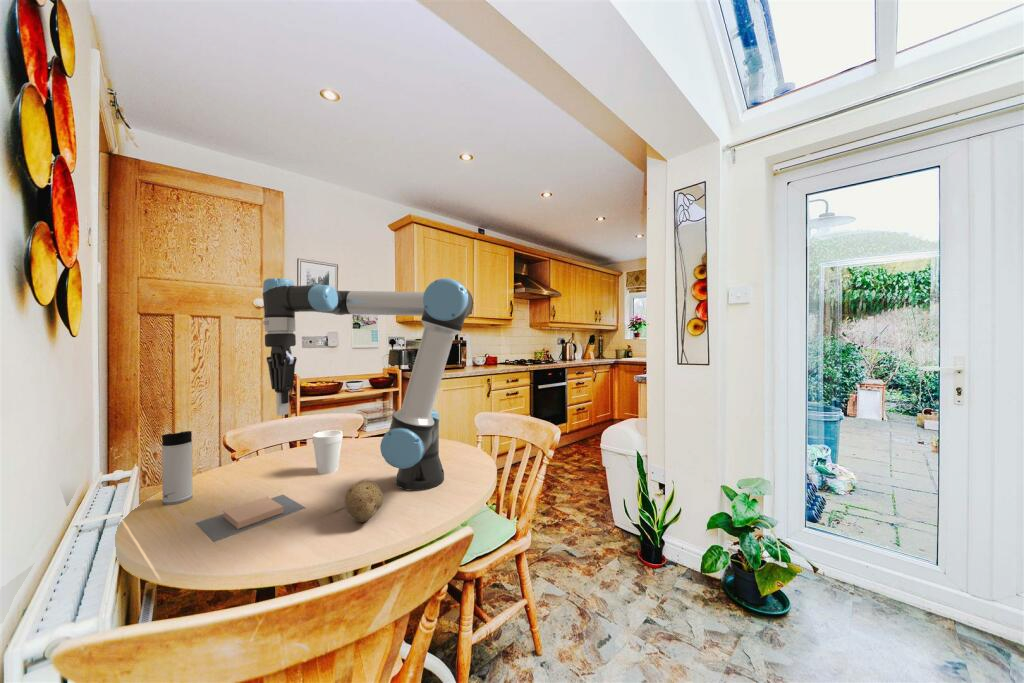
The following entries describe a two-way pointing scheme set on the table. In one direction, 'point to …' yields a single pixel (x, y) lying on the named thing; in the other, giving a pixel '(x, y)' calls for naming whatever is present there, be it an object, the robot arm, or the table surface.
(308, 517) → the table surface
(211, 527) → the felt mat
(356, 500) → the natural sponge
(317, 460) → the foam cup
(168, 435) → the travel mug
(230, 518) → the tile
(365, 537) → the table surface
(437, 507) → the table surface
